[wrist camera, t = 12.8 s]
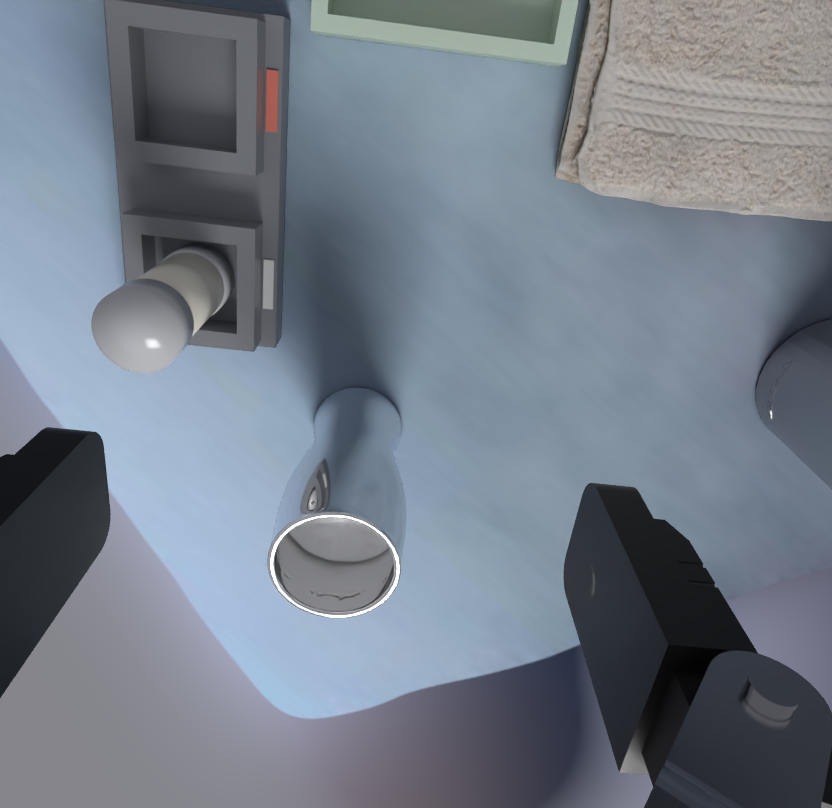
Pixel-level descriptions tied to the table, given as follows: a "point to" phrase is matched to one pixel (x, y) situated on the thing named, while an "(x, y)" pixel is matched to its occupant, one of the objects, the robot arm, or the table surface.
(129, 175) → the fuse block
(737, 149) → the washcloth
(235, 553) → the table surface
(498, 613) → the table surface
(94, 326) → the fuse
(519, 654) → the table surface
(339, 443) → the beer glass
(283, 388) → the table surface
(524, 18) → the parts tray
